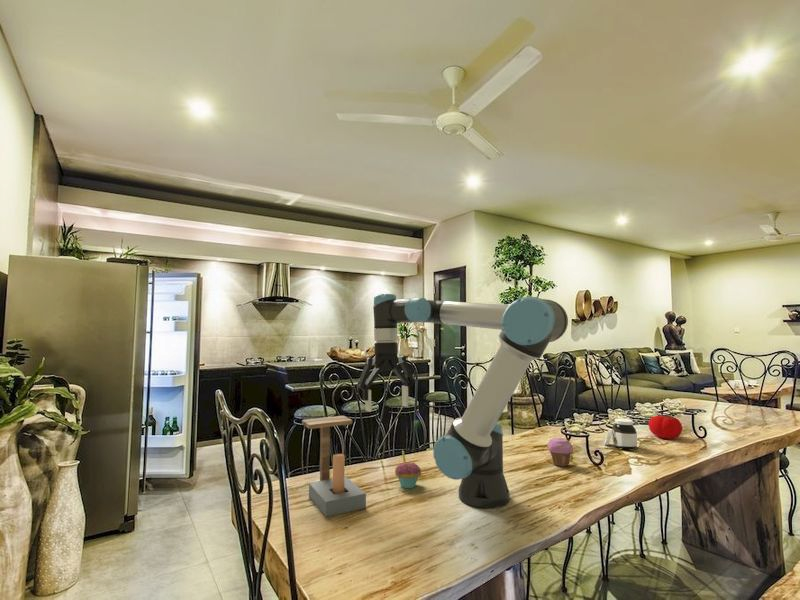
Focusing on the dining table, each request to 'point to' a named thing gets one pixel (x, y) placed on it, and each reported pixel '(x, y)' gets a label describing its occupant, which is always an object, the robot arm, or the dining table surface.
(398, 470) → the cupcake
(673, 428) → the tomato
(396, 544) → the dining table surface
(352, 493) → the socket block
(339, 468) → the peg
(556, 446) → the cupcake
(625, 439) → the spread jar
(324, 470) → the wooden t-shaped stand
